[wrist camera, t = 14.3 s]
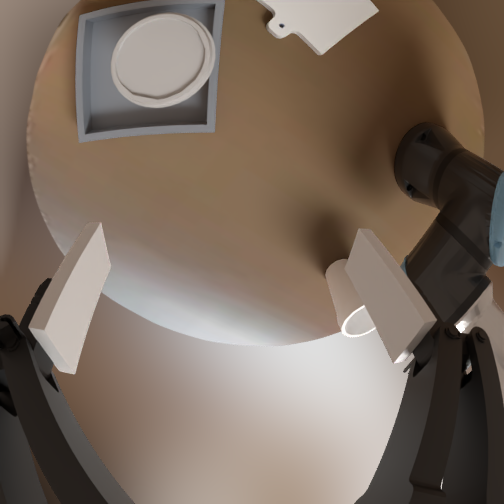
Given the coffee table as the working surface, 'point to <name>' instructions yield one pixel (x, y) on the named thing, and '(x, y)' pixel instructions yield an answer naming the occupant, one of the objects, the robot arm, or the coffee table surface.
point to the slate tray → (105, 91)
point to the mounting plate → (317, 19)
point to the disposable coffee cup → (163, 60)
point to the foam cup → (347, 302)
